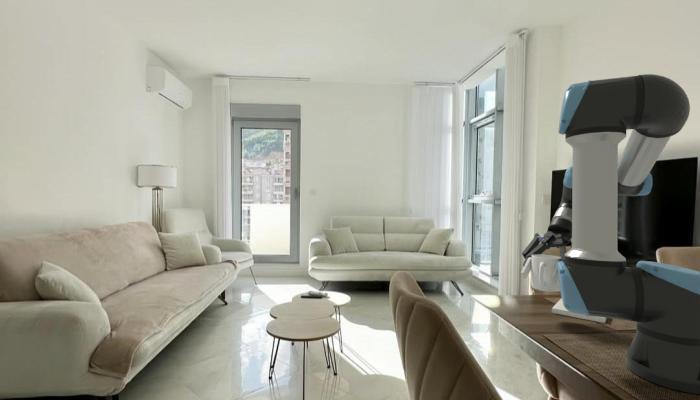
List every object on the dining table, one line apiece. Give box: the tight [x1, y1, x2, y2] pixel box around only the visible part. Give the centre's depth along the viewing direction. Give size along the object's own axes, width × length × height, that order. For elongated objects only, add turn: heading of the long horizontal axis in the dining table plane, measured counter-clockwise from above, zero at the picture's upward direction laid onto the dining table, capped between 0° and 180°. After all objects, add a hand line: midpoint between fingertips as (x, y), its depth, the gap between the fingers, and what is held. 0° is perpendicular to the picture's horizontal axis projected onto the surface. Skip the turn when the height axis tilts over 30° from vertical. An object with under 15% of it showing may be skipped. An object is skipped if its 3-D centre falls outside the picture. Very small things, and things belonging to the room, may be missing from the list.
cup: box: [530, 253, 561, 293], centre depth 108 cm, size 8×12×10 cm
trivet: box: [551, 297, 608, 324], centre depth 115 cm, size 15×14×2 cm
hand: (537, 278), depth 107 cm, fingers closed on cup, 8 cm apart
